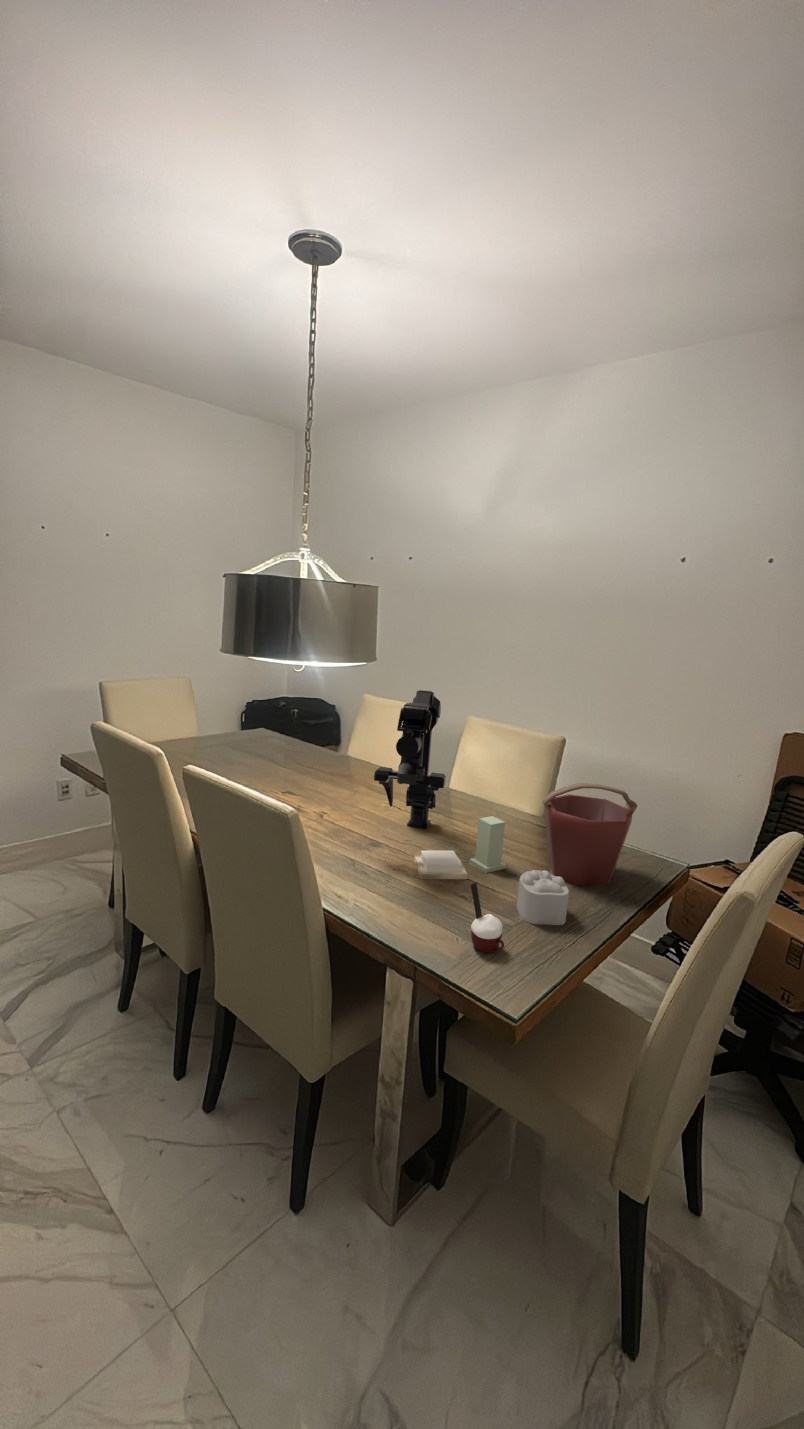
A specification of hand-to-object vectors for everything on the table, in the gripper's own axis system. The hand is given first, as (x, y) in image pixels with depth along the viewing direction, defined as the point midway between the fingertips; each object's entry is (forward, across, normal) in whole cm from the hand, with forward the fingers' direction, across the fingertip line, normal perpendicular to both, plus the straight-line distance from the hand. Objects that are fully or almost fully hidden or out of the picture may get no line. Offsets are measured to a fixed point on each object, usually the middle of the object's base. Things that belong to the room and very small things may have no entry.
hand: (407, 808), depth 163 cm
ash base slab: (+15, +10, -3) cm, 19 cm away
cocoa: (+17, +23, -38) cm, 47 cm away
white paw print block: (+16, +35, -18) cm, 43 cm away
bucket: (+14, +48, +6) cm, 50 cm away
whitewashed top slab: (+13, +10, -3) cm, 17 cm away
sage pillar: (+14, +23, +4) cm, 27 cm away
